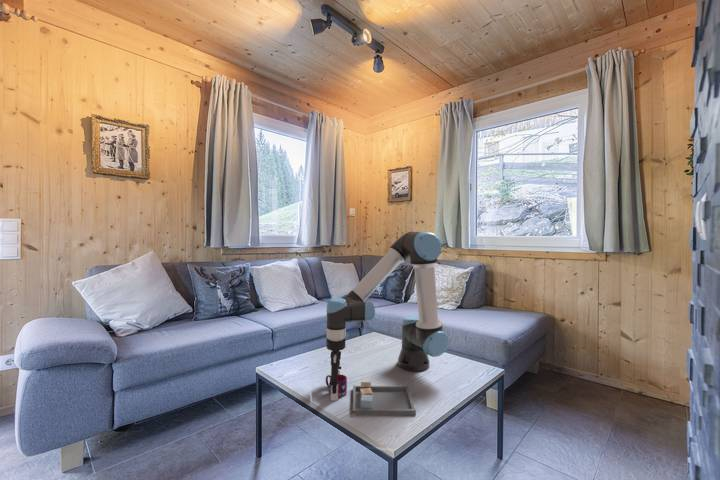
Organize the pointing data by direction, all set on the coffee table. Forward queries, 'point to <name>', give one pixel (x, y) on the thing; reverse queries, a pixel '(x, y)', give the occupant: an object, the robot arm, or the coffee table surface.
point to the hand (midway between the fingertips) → (335, 392)
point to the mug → (339, 385)
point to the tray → (385, 401)
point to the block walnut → (365, 385)
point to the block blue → (366, 401)
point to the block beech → (365, 392)
